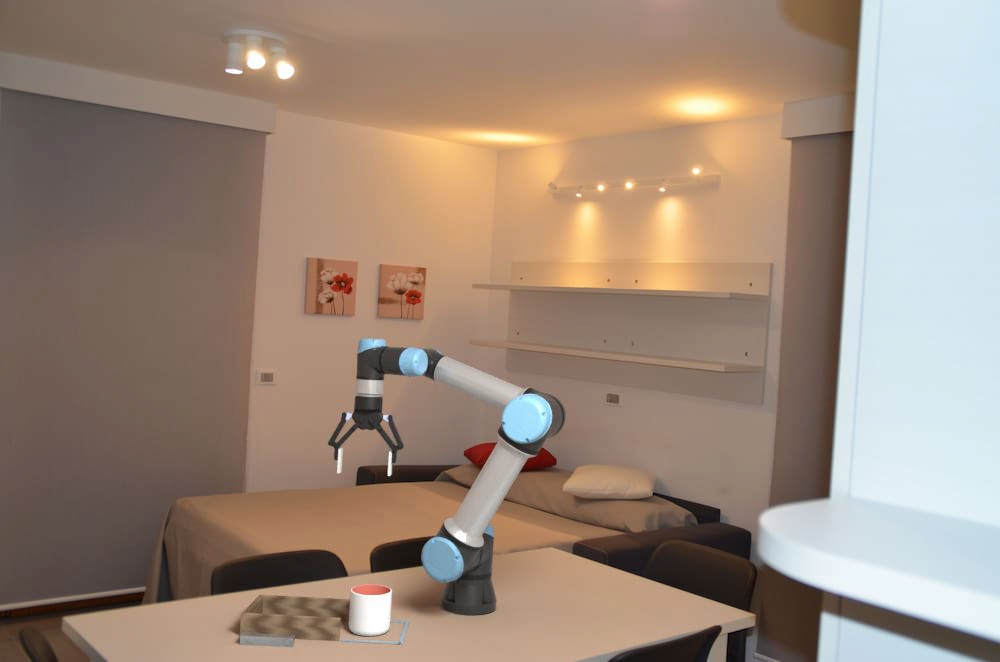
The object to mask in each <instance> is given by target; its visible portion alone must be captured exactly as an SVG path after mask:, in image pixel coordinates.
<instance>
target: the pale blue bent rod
mask: <svg viewBox="0 0 1000 662" xmlns="http://www.w3.org/2000/svg"><path fill="white" fill-rule="evenodd" d="M390 623H396V624H397V623H401V624H404V625H403V628H402V632H401V634H400V636H399V640H398V641H391V640H390V641H384V640H368V639H367V640H366V639H349V638H340V642H345V643H365V644H383V645H400V646H401V645H403V644H404V641H405V637H406V635H407V633H408V632H407V631H408V628H409V625H410V620H399V619H398V620H397V619H396V620H395V619H390Z"/></svg>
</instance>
